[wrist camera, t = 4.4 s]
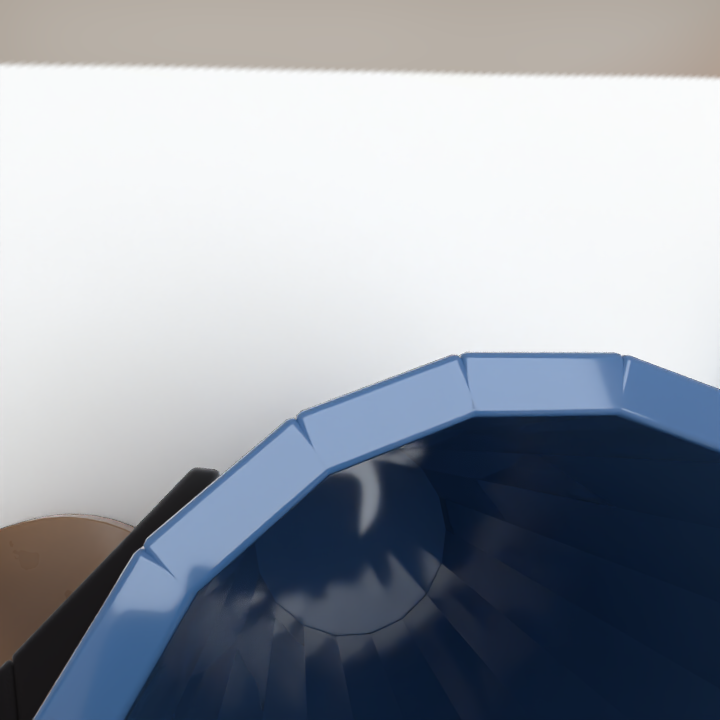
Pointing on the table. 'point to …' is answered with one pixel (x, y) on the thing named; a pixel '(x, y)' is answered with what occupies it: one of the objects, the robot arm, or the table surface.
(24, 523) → the coaster
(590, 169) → the table surface
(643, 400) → the pen cup
